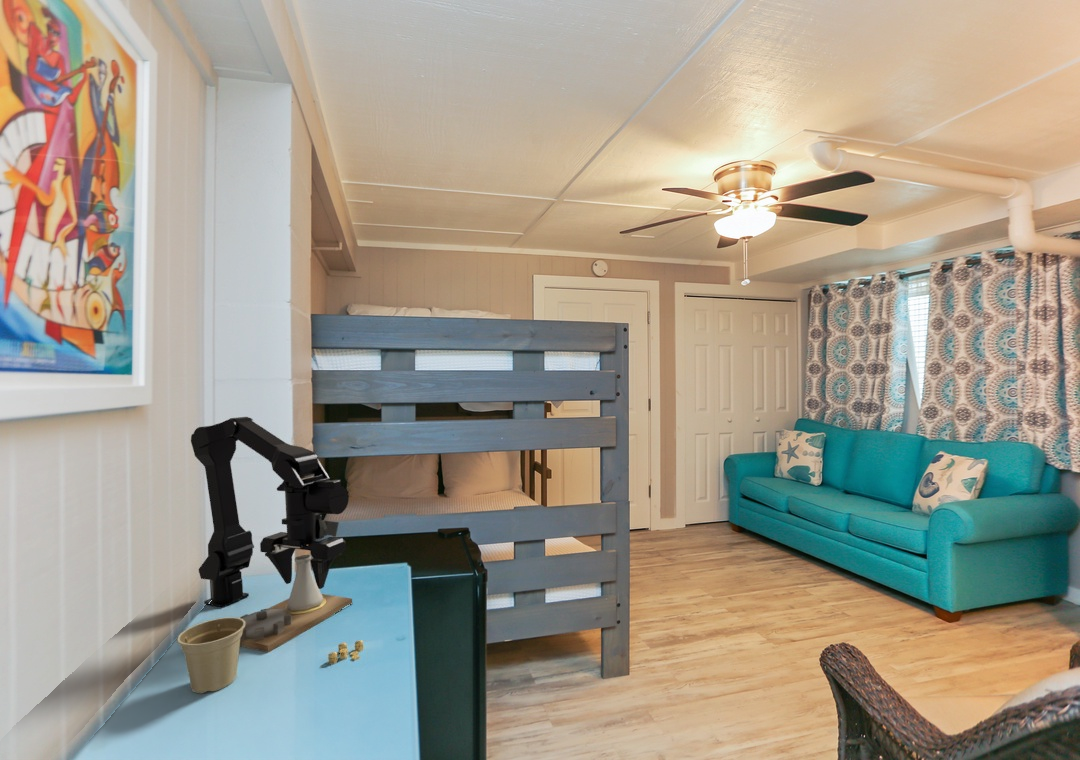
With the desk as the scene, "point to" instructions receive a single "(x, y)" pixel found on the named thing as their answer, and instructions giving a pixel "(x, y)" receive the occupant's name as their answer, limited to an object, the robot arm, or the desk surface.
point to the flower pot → (212, 652)
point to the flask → (304, 587)
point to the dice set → (346, 652)
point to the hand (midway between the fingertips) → (304, 585)
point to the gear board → (298, 623)
